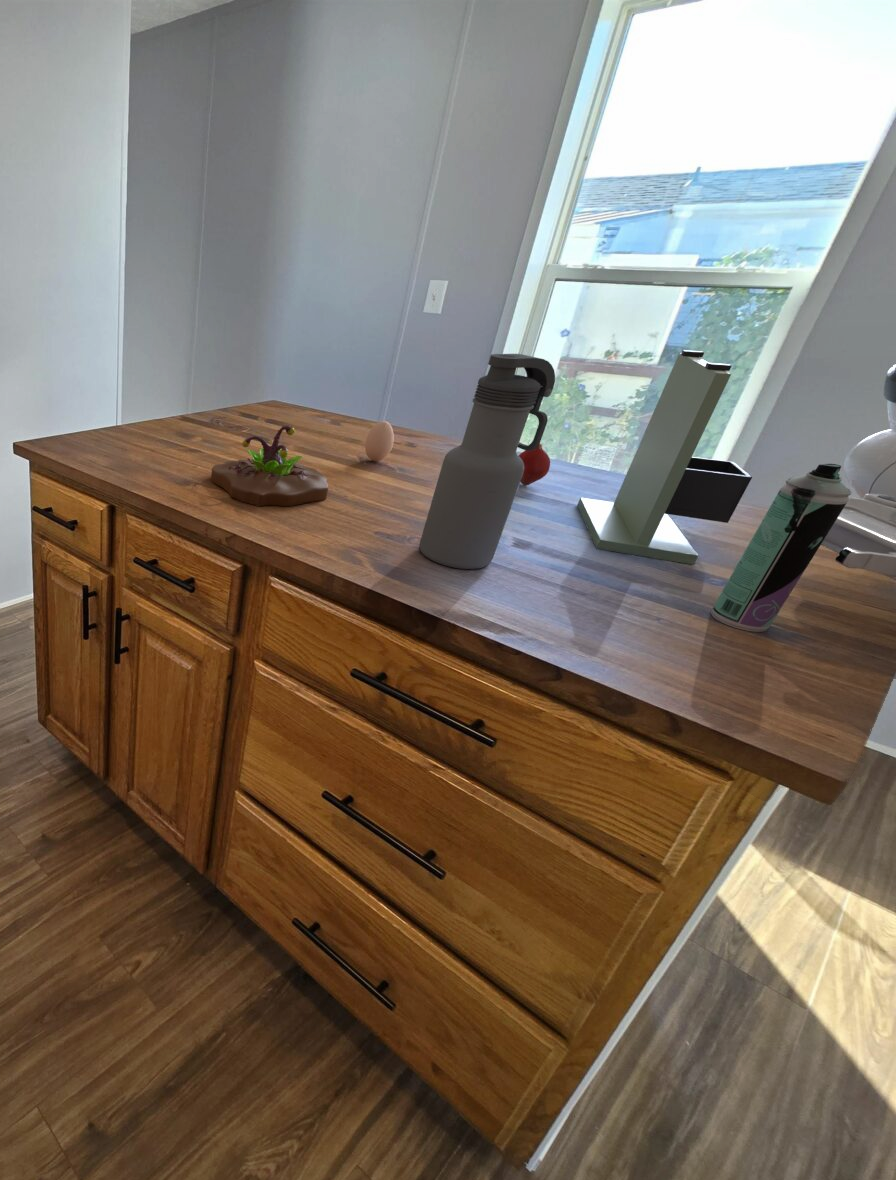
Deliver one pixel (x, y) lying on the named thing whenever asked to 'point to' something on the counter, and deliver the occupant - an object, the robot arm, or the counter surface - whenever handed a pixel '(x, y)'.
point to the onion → (534, 465)
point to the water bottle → (486, 464)
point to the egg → (379, 441)
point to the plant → (270, 476)
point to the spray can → (782, 548)
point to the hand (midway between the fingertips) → (806, 539)
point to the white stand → (671, 472)
